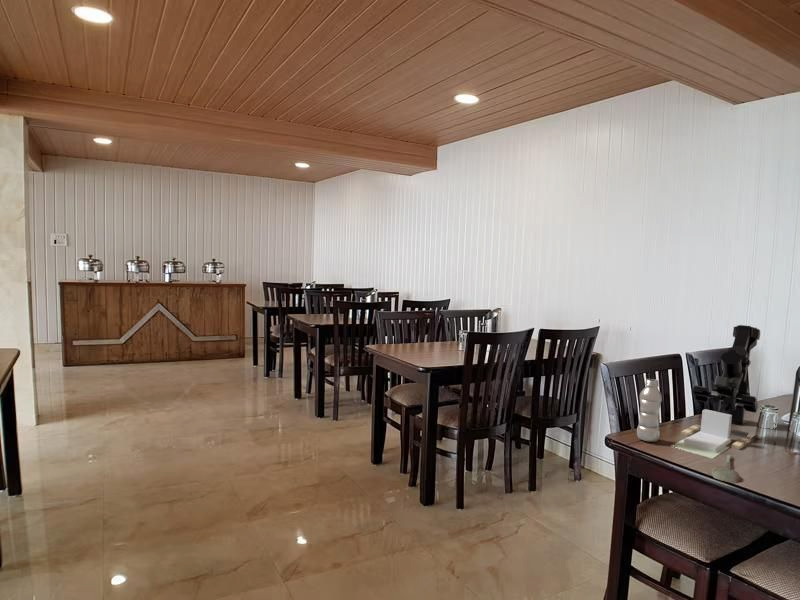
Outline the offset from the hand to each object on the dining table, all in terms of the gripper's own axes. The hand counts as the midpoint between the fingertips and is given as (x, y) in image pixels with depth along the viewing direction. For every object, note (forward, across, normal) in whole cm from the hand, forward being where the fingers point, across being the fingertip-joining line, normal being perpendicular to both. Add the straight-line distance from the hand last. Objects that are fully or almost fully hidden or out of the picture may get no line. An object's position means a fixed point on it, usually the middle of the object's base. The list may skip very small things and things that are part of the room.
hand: (716, 418), depth 171 cm
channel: (+4, 0, +6) cm, 7 cm away
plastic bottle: (+21, -13, -11) cm, 27 cm away
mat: (+15, 0, -5) cm, 16 cm away
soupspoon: (+25, +11, -14) cm, 31 cm away
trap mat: (-5, 0, +15) cm, 16 cm away
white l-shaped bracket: (+11, 0, -1) cm, 11 cm away
